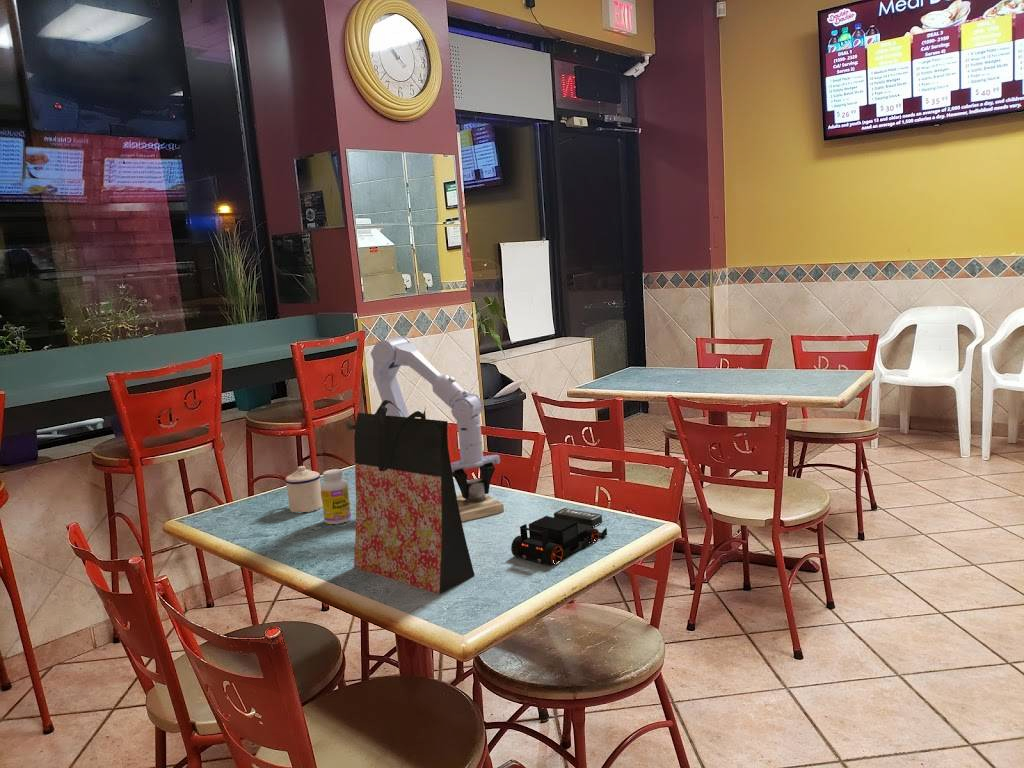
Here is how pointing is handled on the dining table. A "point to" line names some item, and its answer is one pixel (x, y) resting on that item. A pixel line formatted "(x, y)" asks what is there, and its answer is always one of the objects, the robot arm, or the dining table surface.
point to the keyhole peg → (475, 490)
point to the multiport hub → (579, 516)
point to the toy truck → (553, 539)
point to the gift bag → (407, 502)
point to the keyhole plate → (478, 507)
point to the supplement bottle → (335, 497)
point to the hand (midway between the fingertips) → (475, 495)
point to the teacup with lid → (304, 490)
